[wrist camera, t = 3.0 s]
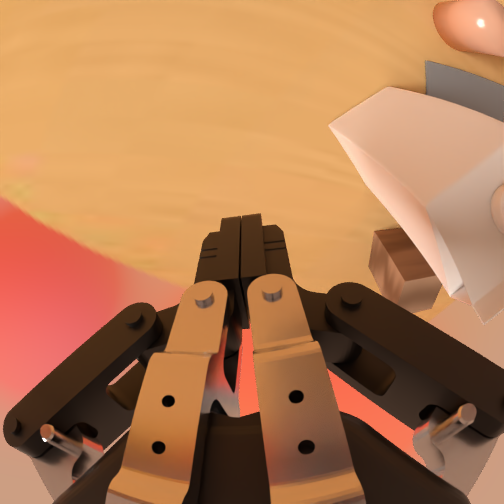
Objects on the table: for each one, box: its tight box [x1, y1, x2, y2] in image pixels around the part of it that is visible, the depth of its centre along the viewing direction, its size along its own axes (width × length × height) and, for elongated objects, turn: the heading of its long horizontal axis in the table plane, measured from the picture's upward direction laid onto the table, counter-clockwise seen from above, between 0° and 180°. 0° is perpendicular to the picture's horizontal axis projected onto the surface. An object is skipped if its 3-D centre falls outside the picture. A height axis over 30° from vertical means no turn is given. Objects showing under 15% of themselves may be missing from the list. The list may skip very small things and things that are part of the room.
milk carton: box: [328, 87, 504, 325], centre depth 14 cm, size 7×7×19 cm
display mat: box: [425, 61, 504, 123], centre depth 20 cm, size 16×13×1 cm
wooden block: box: [369, 228, 442, 313], centre depth 26 cm, size 5×5×8 cm
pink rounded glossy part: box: [433, 0, 504, 57], centre depth 10 cm, size 6×6×7 cm
